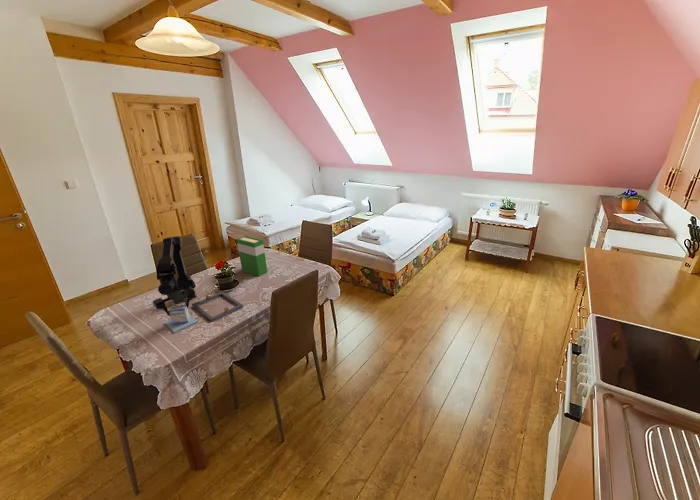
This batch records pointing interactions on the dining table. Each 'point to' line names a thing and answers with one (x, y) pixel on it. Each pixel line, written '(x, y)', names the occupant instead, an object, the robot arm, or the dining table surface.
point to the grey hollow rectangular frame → (226, 310)
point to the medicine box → (179, 314)
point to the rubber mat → (181, 326)
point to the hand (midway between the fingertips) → (178, 311)
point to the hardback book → (252, 255)
